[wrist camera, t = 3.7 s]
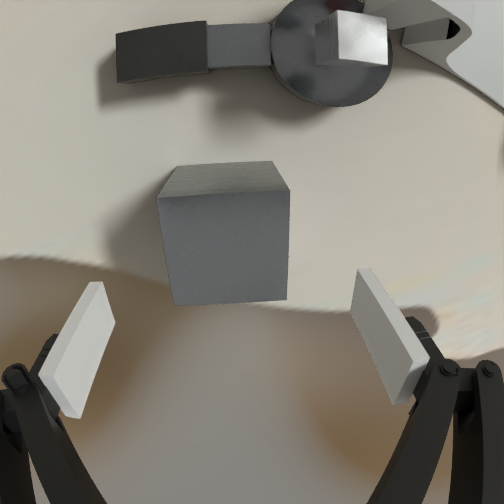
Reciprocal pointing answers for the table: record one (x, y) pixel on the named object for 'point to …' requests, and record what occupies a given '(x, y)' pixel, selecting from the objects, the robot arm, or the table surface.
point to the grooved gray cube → (226, 233)
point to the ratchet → (272, 51)
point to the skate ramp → (453, 37)
